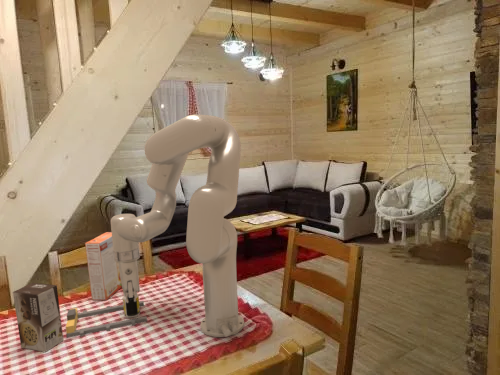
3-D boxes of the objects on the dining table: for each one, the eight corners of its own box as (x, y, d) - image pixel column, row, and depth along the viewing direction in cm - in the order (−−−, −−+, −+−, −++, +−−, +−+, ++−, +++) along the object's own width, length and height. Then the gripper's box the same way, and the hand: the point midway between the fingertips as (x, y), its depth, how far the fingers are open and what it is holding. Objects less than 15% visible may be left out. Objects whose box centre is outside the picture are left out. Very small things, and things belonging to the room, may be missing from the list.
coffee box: (64, 339, 103) (58, 284, 101) (45, 353, 97) (37, 294, 95) (39, 335, 106) (33, 281, 104) (19, 347, 100) (11, 291, 98)
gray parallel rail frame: (147, 322, 110) (147, 319, 110) (66, 339, 103) (66, 336, 103) (143, 302, 124) (143, 299, 124) (71, 316, 117) (71, 313, 117)
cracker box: (110, 284, 141) (105, 231, 138) (125, 284, 140) (120, 231, 138) (90, 300, 128) (84, 242, 125) (106, 301, 127) (100, 242, 124)
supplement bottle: (143, 312, 117) (141, 287, 116) (132, 319, 113) (130, 293, 112) (131, 310, 119) (129, 285, 118) (120, 316, 115) (118, 291, 114)
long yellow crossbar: (74, 335, 105) (73, 320, 104) (66, 336, 104) (65, 322, 104) (78, 316, 116) (76, 303, 115) (71, 318, 115) (69, 304, 115)
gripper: (141, 260, 107) (146, 319, 109) (137, 245, 123) (142, 297, 125) (114, 264, 104) (119, 325, 107) (113, 248, 120) (118, 301, 122)
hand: (131, 309), depth 116 cm, fingers closed on supplement bottle, 4 cm apart
